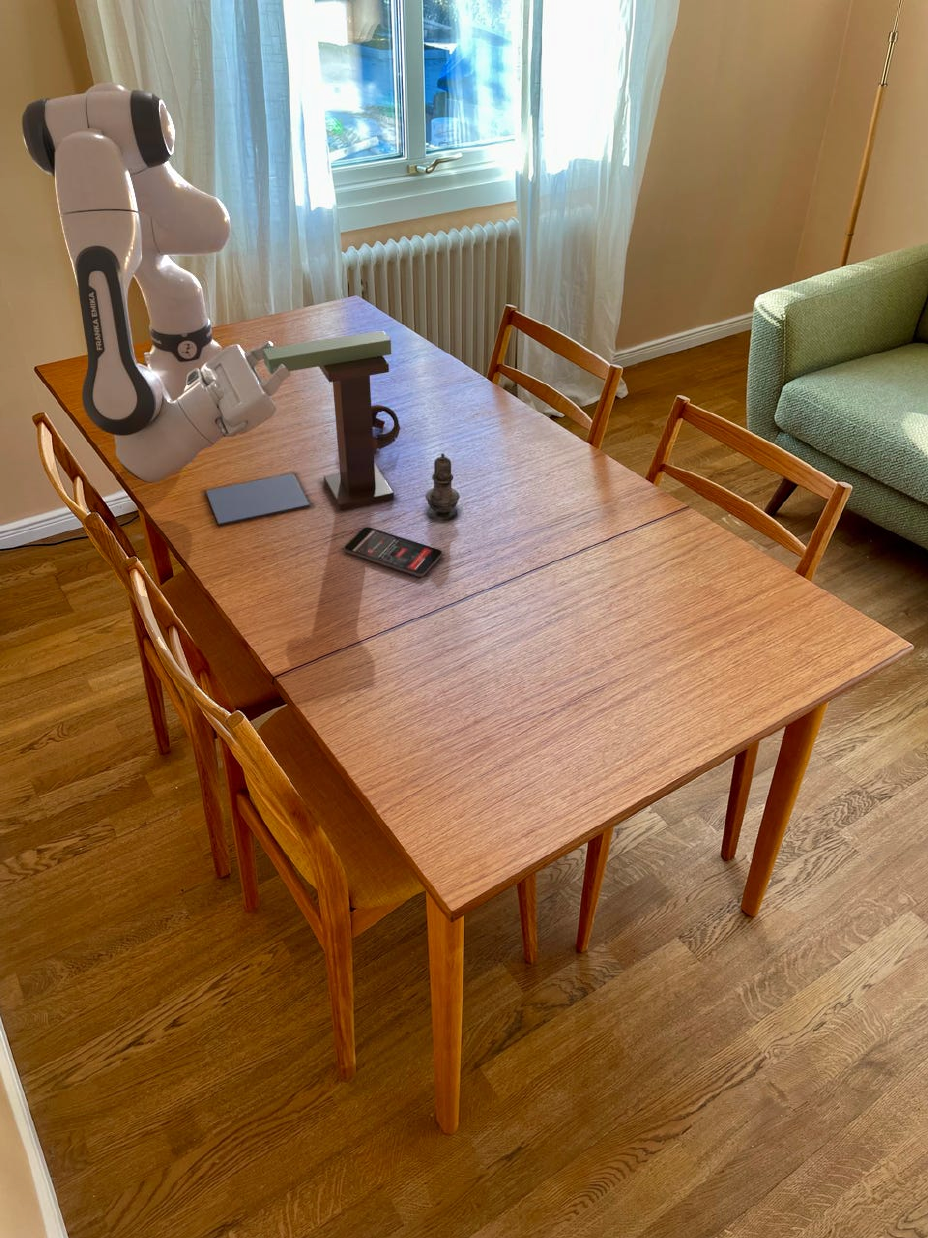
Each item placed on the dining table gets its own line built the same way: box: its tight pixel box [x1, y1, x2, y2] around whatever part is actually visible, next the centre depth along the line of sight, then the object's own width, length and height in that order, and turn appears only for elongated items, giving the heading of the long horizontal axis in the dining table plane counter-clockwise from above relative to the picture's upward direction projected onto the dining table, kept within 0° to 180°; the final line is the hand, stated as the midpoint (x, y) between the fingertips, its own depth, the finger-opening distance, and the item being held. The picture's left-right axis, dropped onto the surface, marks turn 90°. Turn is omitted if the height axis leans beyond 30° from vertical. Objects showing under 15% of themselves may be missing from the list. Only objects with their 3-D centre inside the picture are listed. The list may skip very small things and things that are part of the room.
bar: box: [263, 329, 392, 375], centre depth 151 cm, size 4×20×2 cm, turn 113°
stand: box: [318, 356, 395, 512], centre depth 161 cm, size 10×10×26 cm
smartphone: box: [343, 526, 443, 578], centre depth 156 cm, size 7×1×15 cm
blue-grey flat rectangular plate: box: [205, 472, 310, 526], centre depth 167 cm, size 11×16×1 cm
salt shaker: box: [425, 452, 461, 523], centre depth 161 cm, size 6×6×12 cm
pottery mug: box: [371, 404, 402, 453], centre depth 181 cm, size 12×10×8 cm
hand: (280, 356), depth 148 cm, fingers open, 7 cm apart
